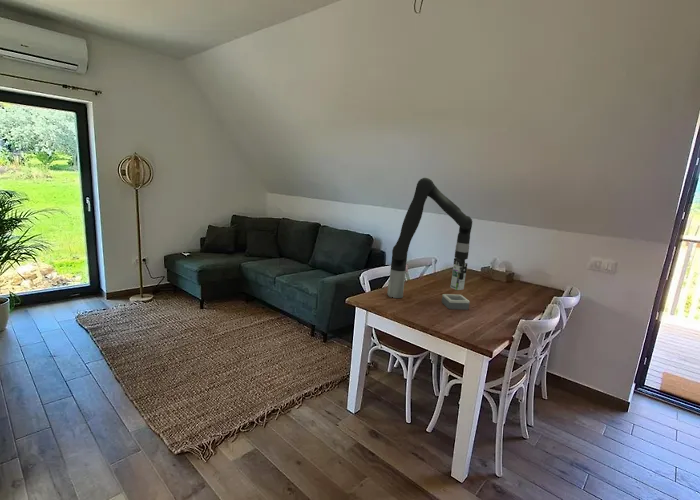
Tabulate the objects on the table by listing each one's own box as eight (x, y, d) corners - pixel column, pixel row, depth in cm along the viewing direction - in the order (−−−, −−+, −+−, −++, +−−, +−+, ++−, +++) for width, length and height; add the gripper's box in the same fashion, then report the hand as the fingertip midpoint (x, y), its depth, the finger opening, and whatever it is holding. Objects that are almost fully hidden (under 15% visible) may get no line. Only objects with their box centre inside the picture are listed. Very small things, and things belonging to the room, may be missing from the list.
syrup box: (449, 287, 222) (452, 264, 219) (457, 286, 225) (460, 263, 222) (456, 290, 217) (459, 266, 215) (464, 289, 220) (467, 265, 217)
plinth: (449, 309, 217) (450, 300, 216) (441, 302, 228) (442, 294, 227) (468, 309, 218) (469, 301, 217) (460, 302, 230) (461, 294, 229)
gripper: (451, 247, 223) (447, 274, 226) (460, 252, 209) (457, 280, 212) (463, 248, 224) (459, 274, 227) (473, 253, 210) (469, 281, 213)
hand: (458, 277), depth 220 cm, fingers closed on syrup box, 7 cm apart
